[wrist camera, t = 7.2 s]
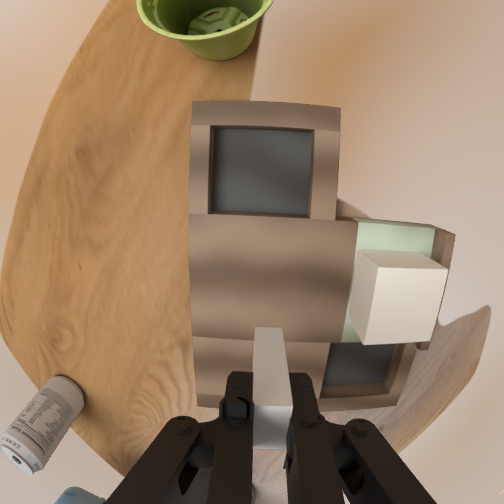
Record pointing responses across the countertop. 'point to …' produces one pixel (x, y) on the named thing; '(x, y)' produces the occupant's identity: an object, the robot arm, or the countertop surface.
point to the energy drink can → (42, 424)
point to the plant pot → (206, 24)
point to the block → (395, 296)
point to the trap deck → (286, 253)
